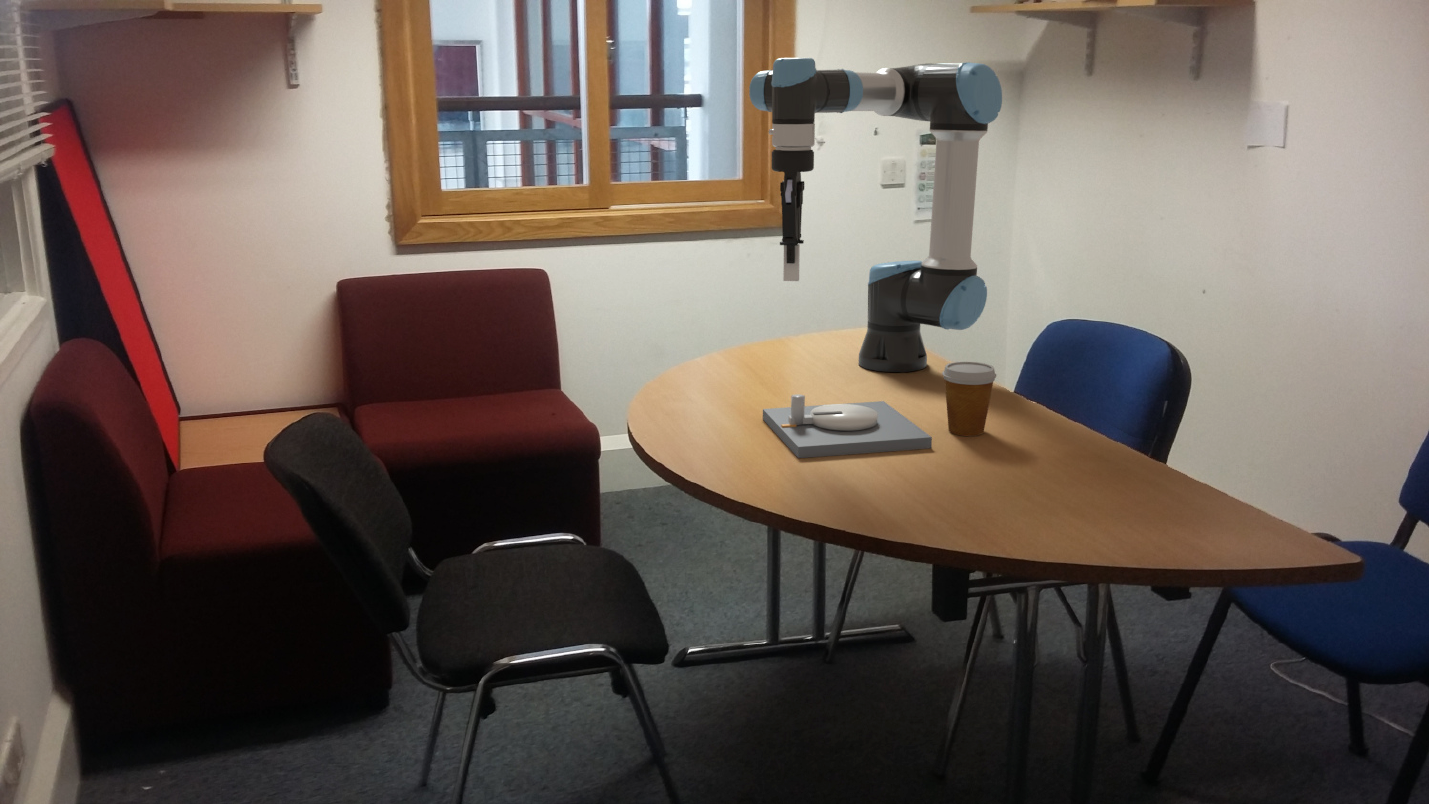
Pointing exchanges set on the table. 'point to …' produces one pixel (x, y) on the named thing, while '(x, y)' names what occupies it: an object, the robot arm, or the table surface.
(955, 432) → the disposable coffee cup
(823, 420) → the dial
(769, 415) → the panel
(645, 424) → the table surface
